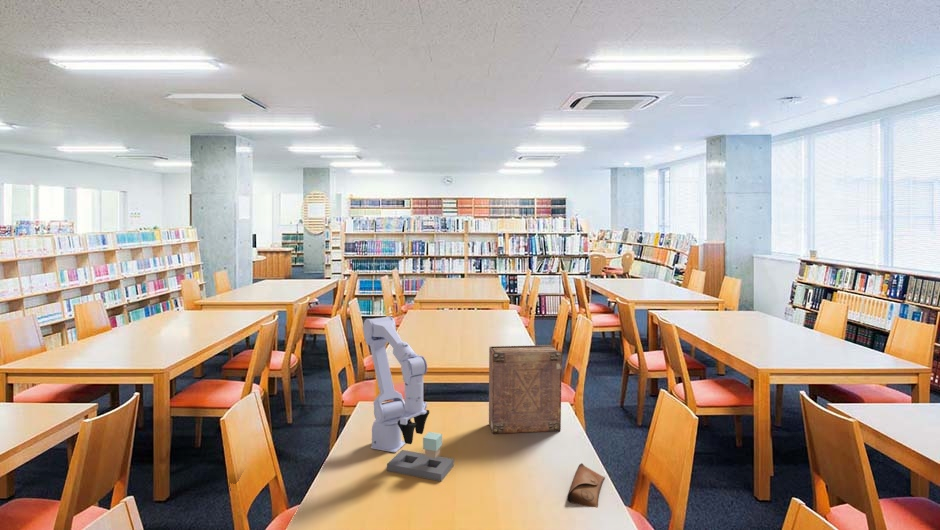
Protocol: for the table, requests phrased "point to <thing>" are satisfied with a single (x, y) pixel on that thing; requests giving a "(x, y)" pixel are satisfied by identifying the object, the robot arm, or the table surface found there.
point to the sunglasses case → (585, 487)
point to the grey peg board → (420, 465)
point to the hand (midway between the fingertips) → (414, 438)
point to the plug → (432, 444)
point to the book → (524, 389)
